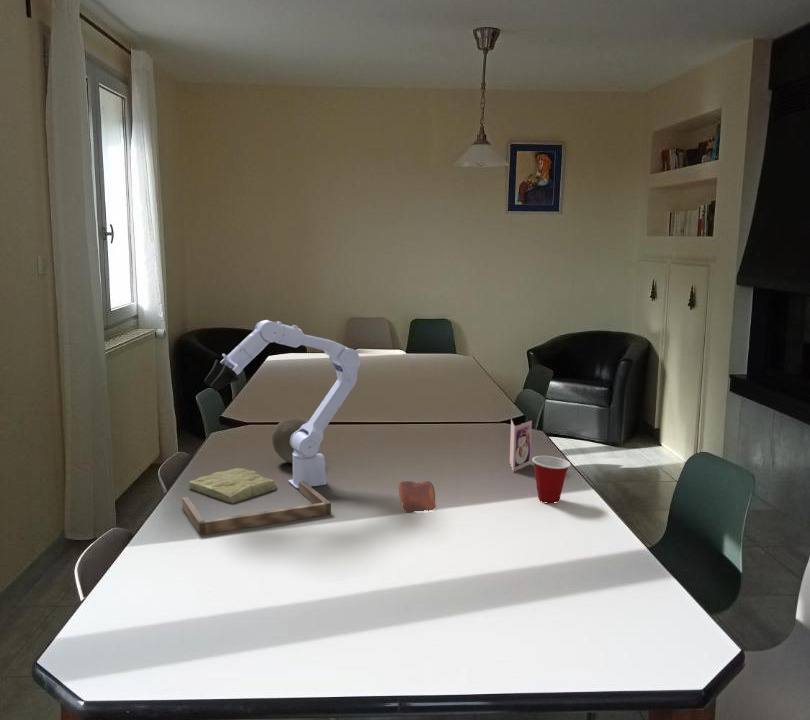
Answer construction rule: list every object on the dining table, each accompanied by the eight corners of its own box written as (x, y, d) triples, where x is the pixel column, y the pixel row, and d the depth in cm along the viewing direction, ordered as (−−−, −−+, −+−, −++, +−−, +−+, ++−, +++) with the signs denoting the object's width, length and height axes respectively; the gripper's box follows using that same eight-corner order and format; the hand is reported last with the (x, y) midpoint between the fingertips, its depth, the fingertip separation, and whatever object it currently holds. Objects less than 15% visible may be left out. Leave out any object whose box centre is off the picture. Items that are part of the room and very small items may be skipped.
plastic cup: (569, 508, 216) (571, 466, 215) (529, 505, 219) (531, 464, 217) (569, 496, 227) (570, 456, 225) (531, 493, 229) (532, 453, 227)
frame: (303, 490, 229) (303, 480, 228) (330, 513, 210) (330, 503, 210) (182, 508, 213) (182, 497, 213) (200, 535, 194) (199, 523, 194)
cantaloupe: (319, 458, 263) (318, 414, 260) (310, 470, 249) (309, 424, 247) (278, 456, 264) (277, 413, 262) (266, 468, 250) (266, 423, 248)
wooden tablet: (398, 484, 238) (398, 479, 238) (431, 484, 238) (431, 479, 238) (400, 515, 211) (400, 509, 211) (436, 515, 212) (437, 509, 211)
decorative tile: (231, 505, 217) (230, 493, 217) (188, 490, 230) (187, 478, 229) (281, 489, 231) (281, 478, 231) (238, 476, 244) (238, 465, 244)
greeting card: (515, 472, 249) (517, 427, 246) (495, 468, 253) (496, 423, 251) (532, 464, 258) (534, 420, 255) (512, 460, 262) (514, 417, 260)
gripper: (228, 339, 226) (194, 372, 223) (242, 346, 213) (205, 381, 210) (245, 356, 229) (211, 389, 226) (259, 364, 216) (223, 398, 213)
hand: (209, 386), depth 218 cm, fingers open, 7 cm apart
